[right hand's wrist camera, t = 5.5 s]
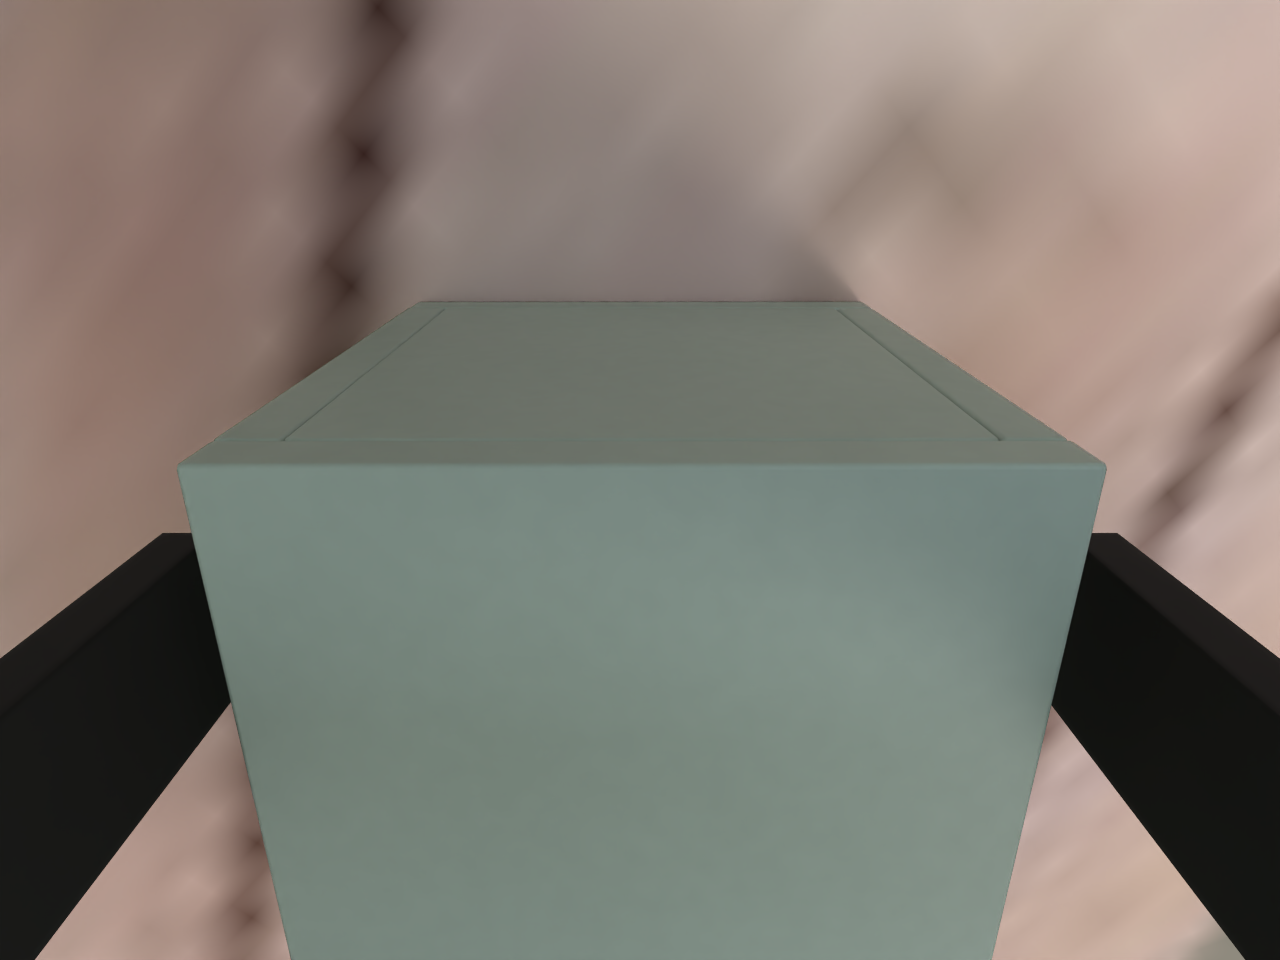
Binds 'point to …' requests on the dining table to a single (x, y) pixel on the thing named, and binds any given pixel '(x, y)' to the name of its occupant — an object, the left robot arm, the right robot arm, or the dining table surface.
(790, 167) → the dining table surface
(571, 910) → the grey-green rectangular block
